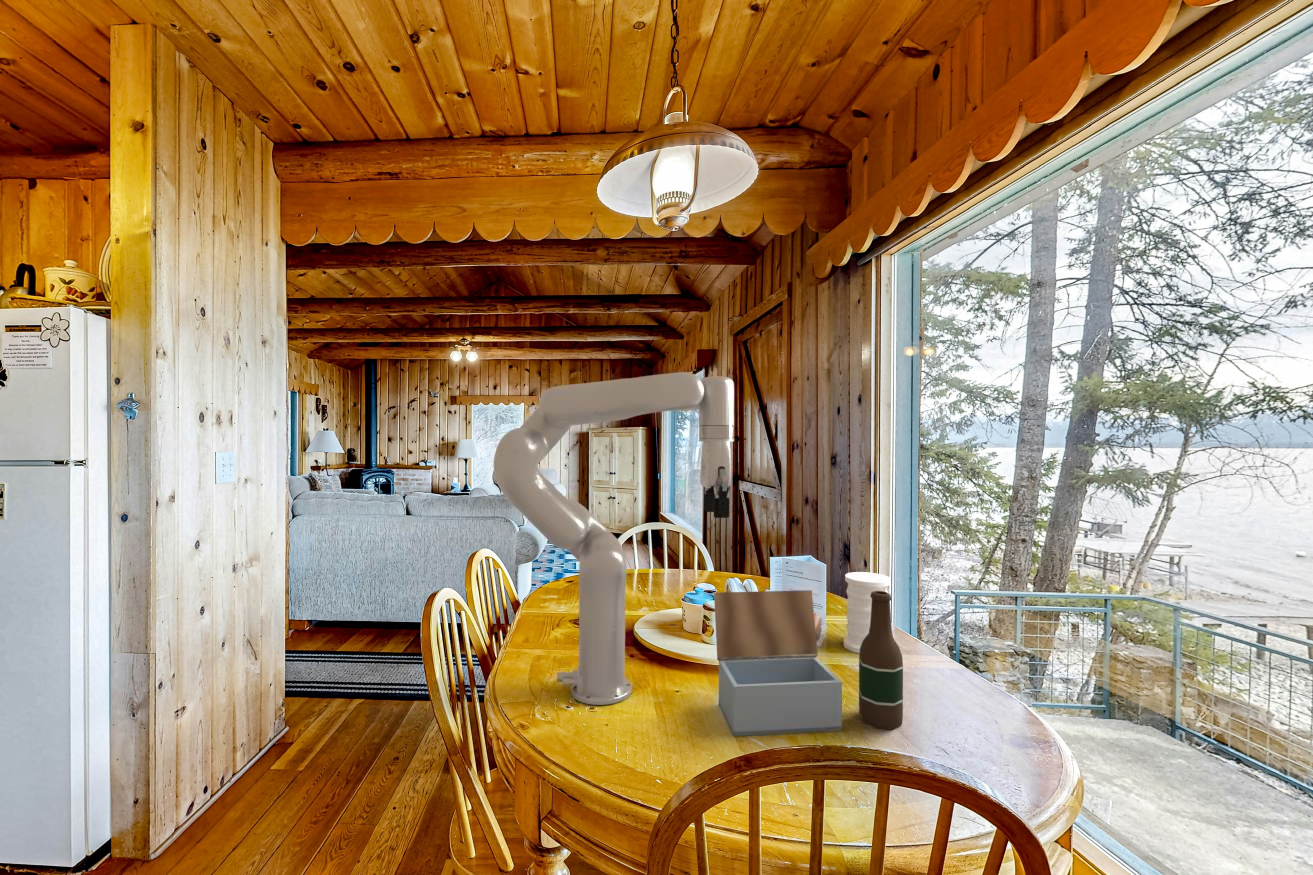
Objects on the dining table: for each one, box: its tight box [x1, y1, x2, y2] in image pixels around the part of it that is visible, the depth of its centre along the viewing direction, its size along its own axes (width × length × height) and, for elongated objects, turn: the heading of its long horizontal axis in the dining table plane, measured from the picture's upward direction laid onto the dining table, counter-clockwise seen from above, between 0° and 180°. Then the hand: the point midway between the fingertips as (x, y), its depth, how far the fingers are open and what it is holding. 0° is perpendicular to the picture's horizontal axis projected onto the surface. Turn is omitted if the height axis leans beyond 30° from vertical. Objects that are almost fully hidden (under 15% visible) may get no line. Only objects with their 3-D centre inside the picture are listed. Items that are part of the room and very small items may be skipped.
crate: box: [718, 657, 843, 738], centre depth 105 cm, size 20×12×9 cm, turn 96°
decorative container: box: [843, 571, 891, 654], centre depth 142 cm, size 12×12×18 cm
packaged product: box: [814, 614, 829, 649], centre depth 152 cm, size 18×5×10 cm
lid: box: [713, 589, 819, 661], centre depth 113 cm, size 21×13×1 cm
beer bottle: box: [858, 591, 904, 731], centre depth 105 cm, size 8×8×24 cm
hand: (716, 514), depth 119 cm, fingers open, 9 cm apart
